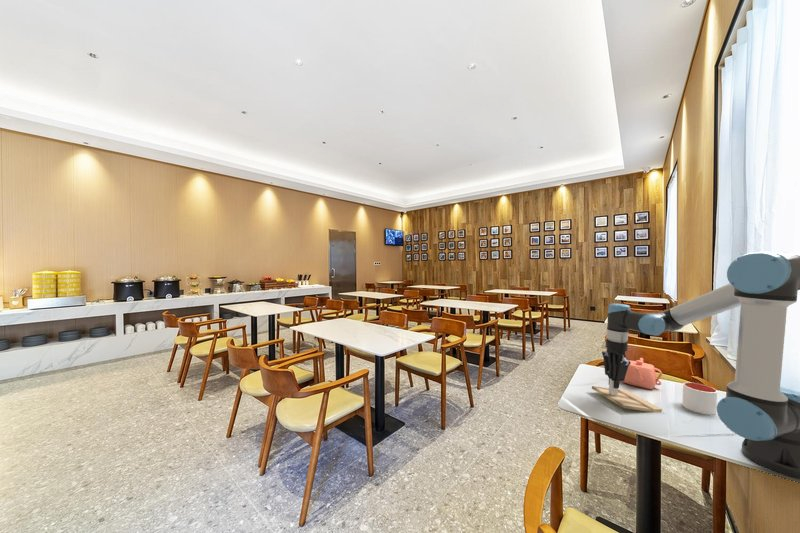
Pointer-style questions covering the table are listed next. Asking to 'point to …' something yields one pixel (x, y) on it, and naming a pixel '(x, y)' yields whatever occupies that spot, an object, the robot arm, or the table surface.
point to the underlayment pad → (623, 410)
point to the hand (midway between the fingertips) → (613, 394)
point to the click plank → (622, 399)
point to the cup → (699, 398)
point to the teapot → (642, 375)
